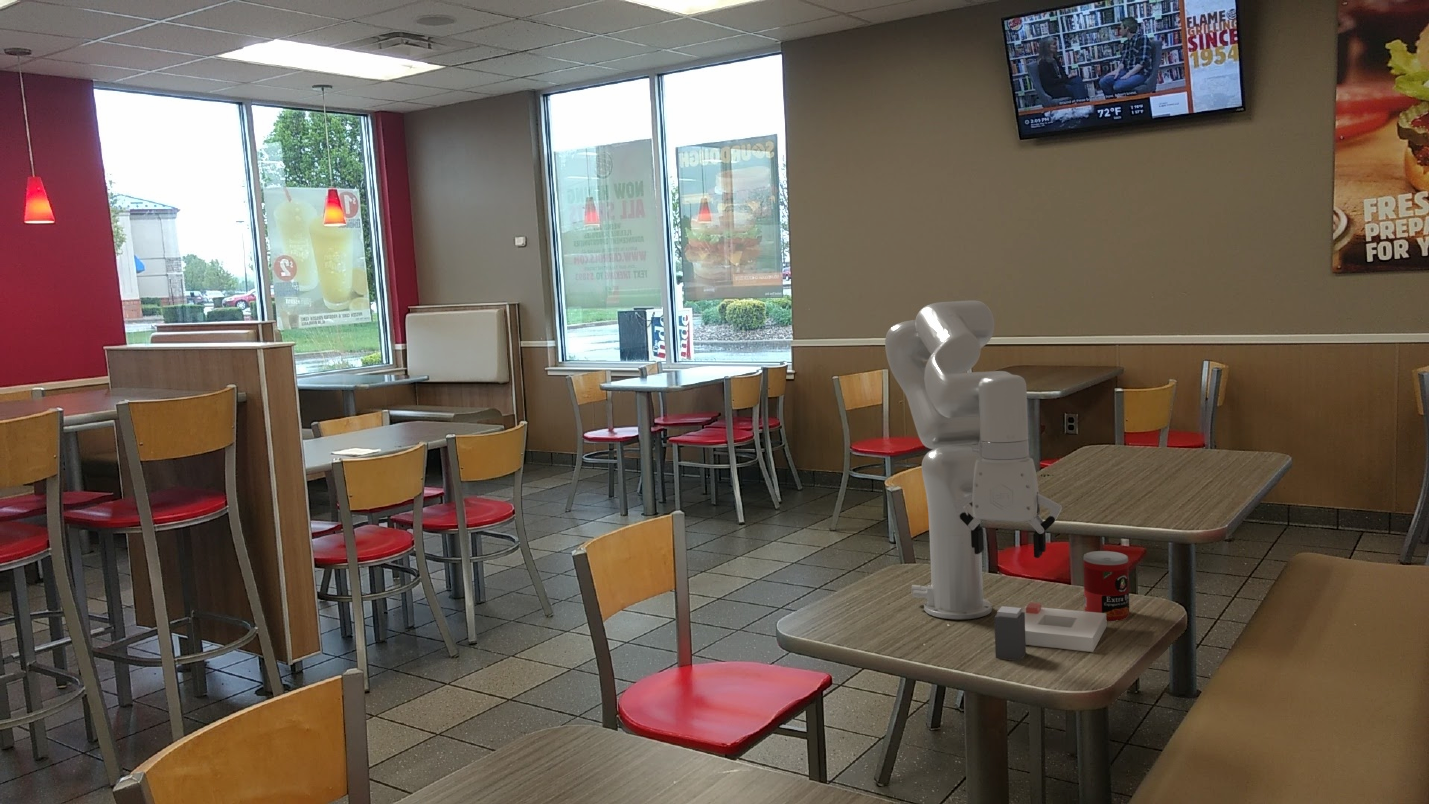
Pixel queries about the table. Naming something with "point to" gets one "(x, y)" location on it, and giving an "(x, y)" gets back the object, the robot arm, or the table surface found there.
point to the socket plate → (1063, 628)
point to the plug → (1010, 633)
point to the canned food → (1106, 584)
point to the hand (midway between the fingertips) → (1008, 554)
